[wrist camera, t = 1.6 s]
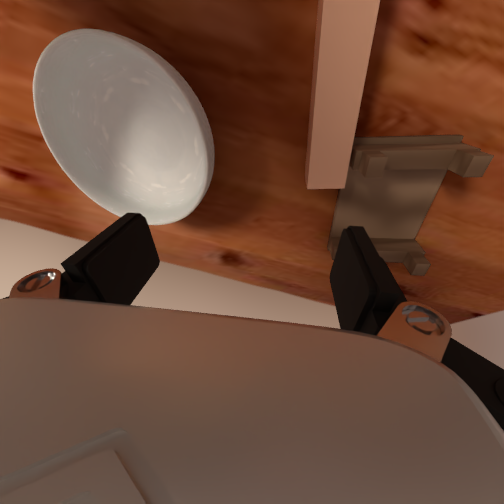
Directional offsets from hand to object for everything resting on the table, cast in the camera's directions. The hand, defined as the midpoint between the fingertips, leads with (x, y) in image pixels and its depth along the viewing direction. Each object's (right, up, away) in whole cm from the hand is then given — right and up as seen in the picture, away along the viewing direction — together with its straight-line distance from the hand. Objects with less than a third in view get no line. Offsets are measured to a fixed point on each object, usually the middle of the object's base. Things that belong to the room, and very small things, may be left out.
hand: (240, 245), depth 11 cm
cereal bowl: (-11, +14, +16) cm, 24 cm away
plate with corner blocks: (+17, +6, +18) cm, 25 cm away
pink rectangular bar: (+9, +16, +12) cm, 22 cm away
